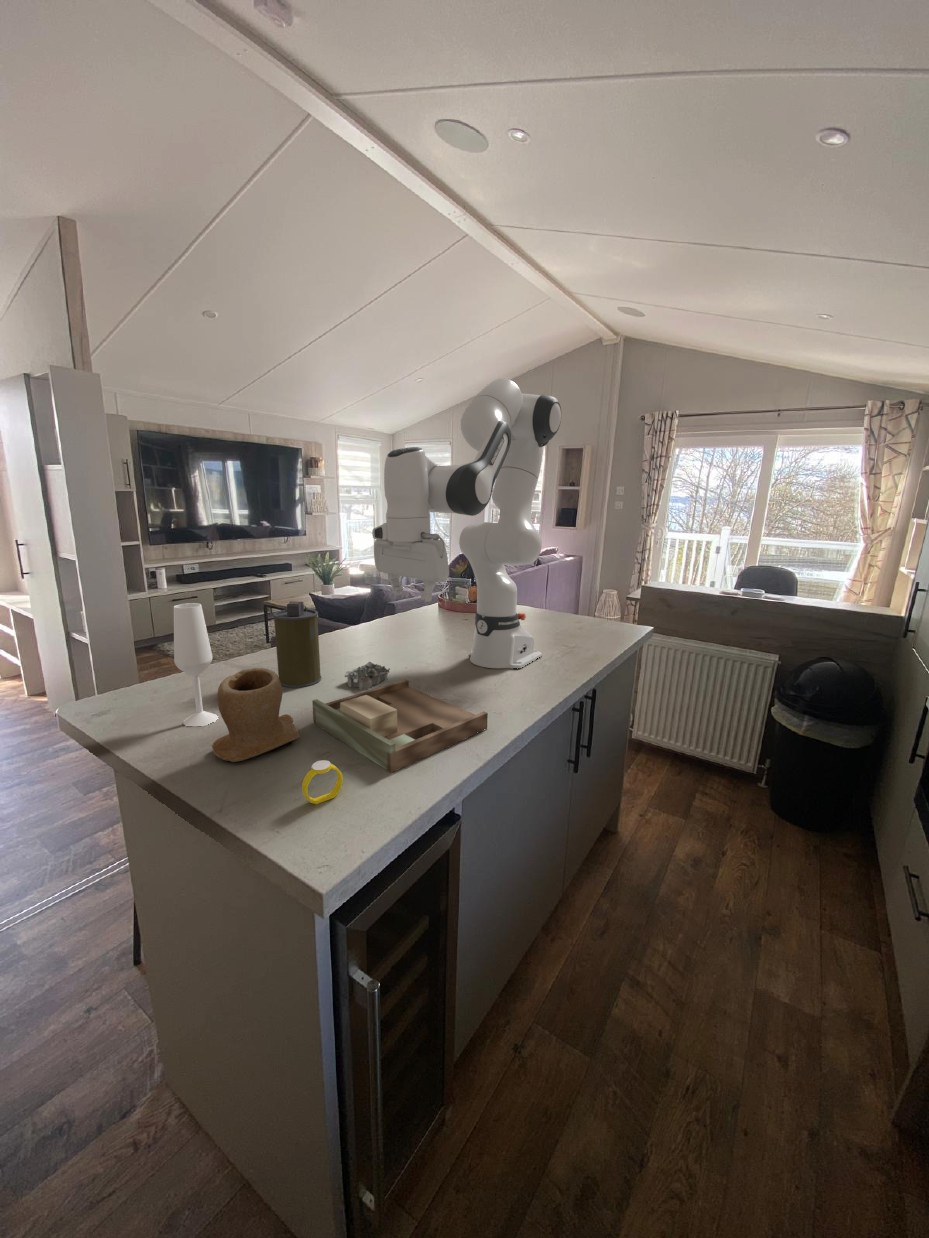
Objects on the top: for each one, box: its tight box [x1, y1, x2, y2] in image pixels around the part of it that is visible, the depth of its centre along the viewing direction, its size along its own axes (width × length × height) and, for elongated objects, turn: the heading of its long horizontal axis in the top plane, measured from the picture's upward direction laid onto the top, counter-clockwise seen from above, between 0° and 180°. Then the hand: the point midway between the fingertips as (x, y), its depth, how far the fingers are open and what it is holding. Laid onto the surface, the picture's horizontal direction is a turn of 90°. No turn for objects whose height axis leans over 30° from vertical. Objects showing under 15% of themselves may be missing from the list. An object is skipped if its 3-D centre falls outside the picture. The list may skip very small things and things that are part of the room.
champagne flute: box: [173, 602, 219, 727], centre depth 99 cm, size 7×7×24 cm
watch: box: [301, 759, 344, 805], centre depth 75 cm, size 6×3×6 cm, turn 129°
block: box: [340, 695, 397, 737], centre depth 95 cm, size 6×10×4 cm, turn 45°
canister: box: [272, 600, 322, 689], centre depth 123 cm, size 11×10×20 cm
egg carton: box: [344, 661, 391, 691], centre depth 125 cm, size 11×8×4 cm
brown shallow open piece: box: [312, 679, 489, 773], centre depth 100 cm, size 24×26×5 cm
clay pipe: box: [211, 667, 300, 763], centre depth 89 cm, size 15×12×15 cm
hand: (411, 597), depth 105 cm, fingers open, 8 cm apart
